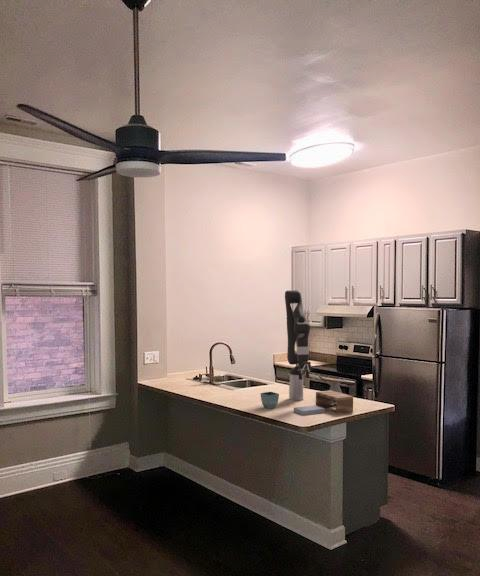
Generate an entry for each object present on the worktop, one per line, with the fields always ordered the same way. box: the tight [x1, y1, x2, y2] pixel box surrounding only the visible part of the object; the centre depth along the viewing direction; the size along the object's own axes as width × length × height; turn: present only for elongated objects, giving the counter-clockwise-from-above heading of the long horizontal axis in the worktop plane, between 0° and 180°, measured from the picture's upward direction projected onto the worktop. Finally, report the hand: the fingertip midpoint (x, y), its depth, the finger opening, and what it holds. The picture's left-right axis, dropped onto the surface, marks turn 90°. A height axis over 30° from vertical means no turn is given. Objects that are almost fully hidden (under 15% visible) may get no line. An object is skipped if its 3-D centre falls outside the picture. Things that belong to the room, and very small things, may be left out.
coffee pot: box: [317, 375, 343, 403], centre depth 344 cm, size 21×12×15 cm, turn 38°
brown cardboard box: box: [315, 389, 354, 415], centre depth 314 cm, size 22×12×10 cm, turn 28°
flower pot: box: [259, 391, 280, 409], centre depth 318 cm, size 9×9×9 cm
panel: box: [293, 404, 326, 416], centre depth 306 cm, size 10×16×3 cm, turn 117°
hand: (304, 378), depth 323 cm, fingers open, 8 cm apart
